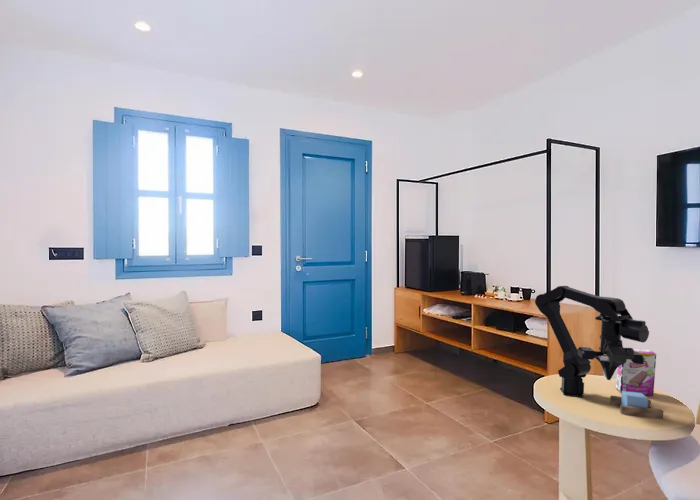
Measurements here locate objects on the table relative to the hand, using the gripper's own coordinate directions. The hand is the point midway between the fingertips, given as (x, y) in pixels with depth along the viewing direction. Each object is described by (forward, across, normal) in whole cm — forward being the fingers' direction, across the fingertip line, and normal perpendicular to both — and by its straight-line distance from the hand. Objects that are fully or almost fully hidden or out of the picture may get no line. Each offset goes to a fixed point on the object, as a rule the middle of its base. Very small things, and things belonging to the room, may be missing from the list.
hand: (608, 379), depth 137 cm
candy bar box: (+10, +16, +18) cm, 26 cm away
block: (+10, +8, 0) cm, 13 cm away
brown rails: (+10, +9, 0) cm, 13 cm away
